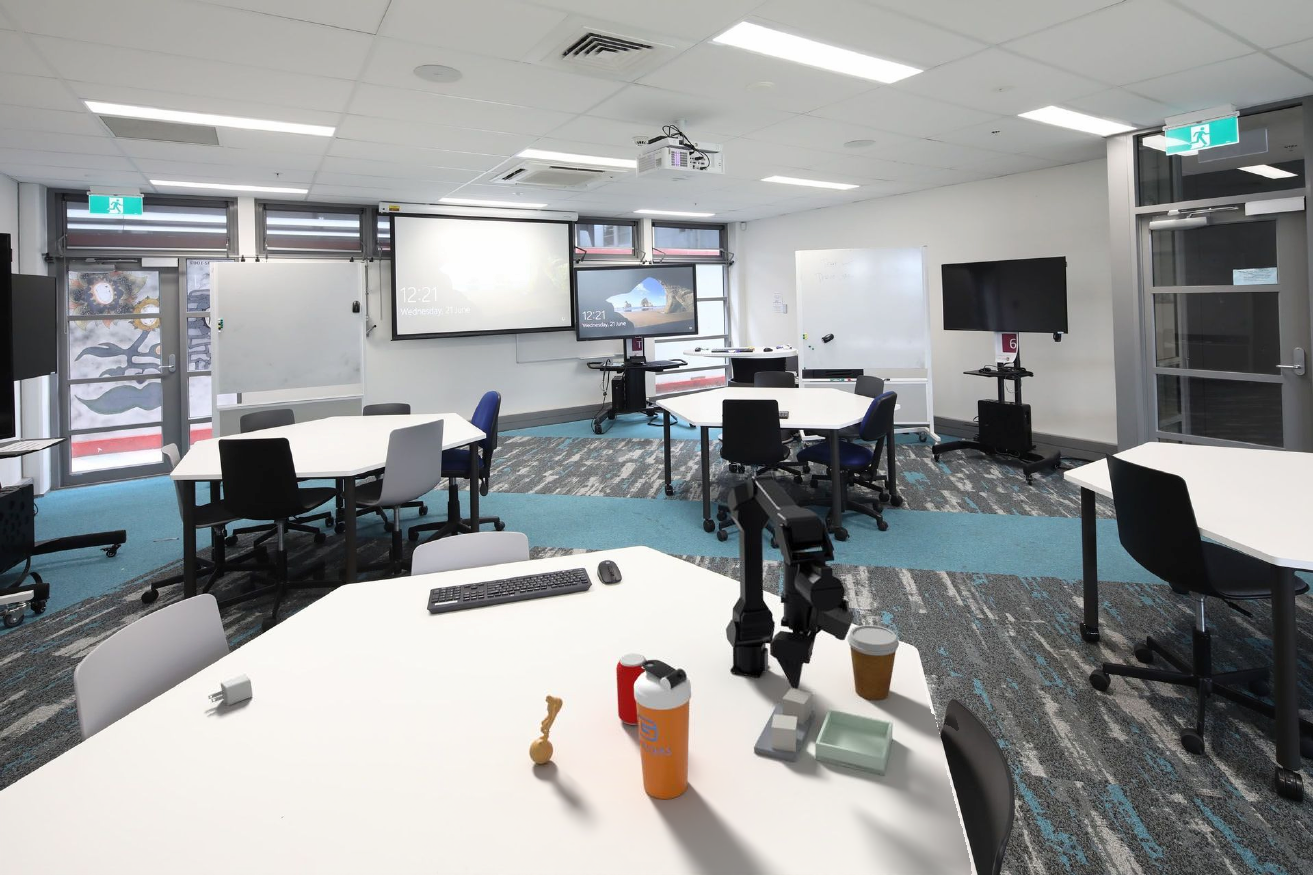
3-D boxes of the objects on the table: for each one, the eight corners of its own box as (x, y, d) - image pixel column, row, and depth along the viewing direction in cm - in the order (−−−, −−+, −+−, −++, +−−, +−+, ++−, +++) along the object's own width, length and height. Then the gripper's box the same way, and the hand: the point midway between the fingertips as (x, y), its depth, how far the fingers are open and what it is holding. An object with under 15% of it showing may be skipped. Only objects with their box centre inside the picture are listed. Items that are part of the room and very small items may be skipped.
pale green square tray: (815, 759, 118) (815, 742, 117) (828, 724, 127) (828, 709, 127) (883, 775, 113) (884, 758, 113) (892, 738, 123) (892, 722, 122)
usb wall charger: (252, 697, 143) (250, 679, 143) (214, 712, 138) (211, 693, 138) (246, 691, 146) (243, 673, 145) (208, 704, 141) (205, 686, 140)
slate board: (754, 752, 120) (753, 746, 120) (777, 707, 133) (777, 702, 133) (794, 761, 117) (794, 756, 117) (814, 715, 130) (814, 710, 130)
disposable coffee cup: (900, 706, 133) (902, 647, 131) (848, 702, 134) (849, 644, 132) (894, 681, 142) (895, 625, 140) (845, 678, 144) (846, 622, 142)
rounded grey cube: (771, 748, 119) (771, 726, 119) (773, 735, 123) (773, 714, 122) (795, 751, 118) (795, 729, 118) (797, 737, 122) (797, 716, 121)
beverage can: (655, 712, 133) (653, 653, 131) (644, 730, 127) (642, 669, 125) (625, 707, 135) (623, 649, 133) (613, 725, 129) (610, 664, 127)
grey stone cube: (782, 718, 128) (782, 698, 127) (791, 707, 131) (791, 688, 131) (803, 724, 126) (803, 703, 125) (811, 713, 129) (811, 693, 129)
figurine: (532, 747, 123) (528, 684, 121) (566, 745, 124) (563, 681, 122) (527, 778, 115) (523, 710, 113) (564, 774, 116) (560, 707, 114)
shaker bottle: (658, 760, 119) (654, 649, 115) (703, 778, 114) (701, 663, 110) (626, 790, 111) (621, 673, 108) (673, 811, 106) (670, 688, 103)
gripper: (841, 616, 106) (840, 711, 109) (857, 574, 123) (856, 658, 126) (768, 606, 111) (769, 698, 113) (794, 568, 128) (794, 648, 130)
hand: (800, 674), depth 121 cm, fingers open, 9 cm apart
